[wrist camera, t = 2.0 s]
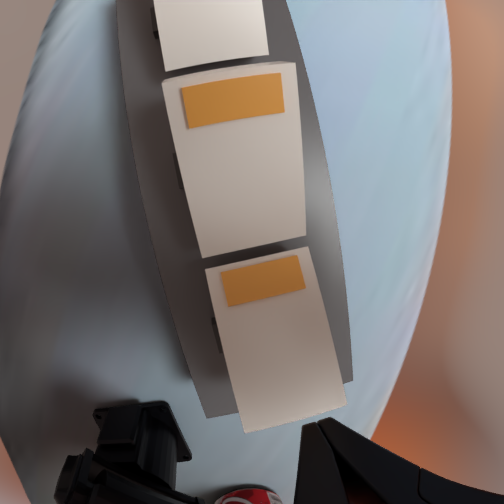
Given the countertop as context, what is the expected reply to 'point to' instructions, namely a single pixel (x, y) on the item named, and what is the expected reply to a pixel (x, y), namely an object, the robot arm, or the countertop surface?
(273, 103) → the block
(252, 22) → the rocker
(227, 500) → the soda can
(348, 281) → the countertop surface
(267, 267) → the rocker
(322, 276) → the rocker switch panel
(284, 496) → the countertop surface
